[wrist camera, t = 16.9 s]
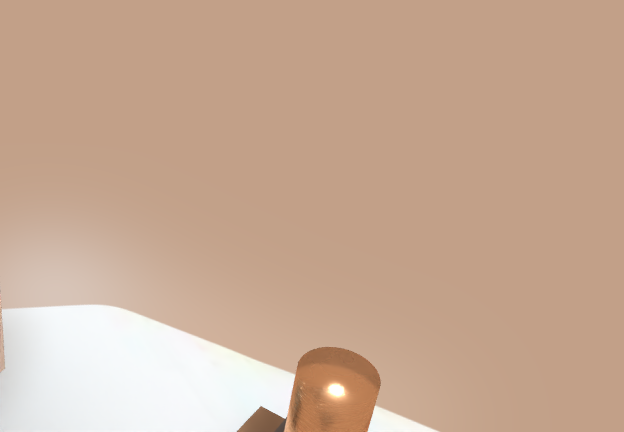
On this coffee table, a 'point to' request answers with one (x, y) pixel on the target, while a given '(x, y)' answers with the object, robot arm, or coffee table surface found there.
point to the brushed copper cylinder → (332, 392)
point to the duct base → (264, 422)
